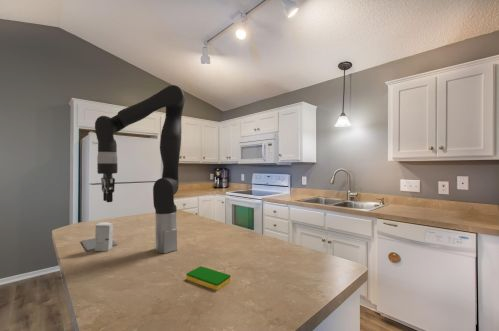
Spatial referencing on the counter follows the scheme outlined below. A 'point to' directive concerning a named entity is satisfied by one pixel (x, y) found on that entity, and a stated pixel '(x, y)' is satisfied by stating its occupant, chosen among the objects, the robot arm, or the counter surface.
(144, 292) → the counter surface
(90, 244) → the mat
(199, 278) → the dish sponge
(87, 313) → the counter surface
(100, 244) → the skincare box
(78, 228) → the counter surface
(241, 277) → the counter surface
